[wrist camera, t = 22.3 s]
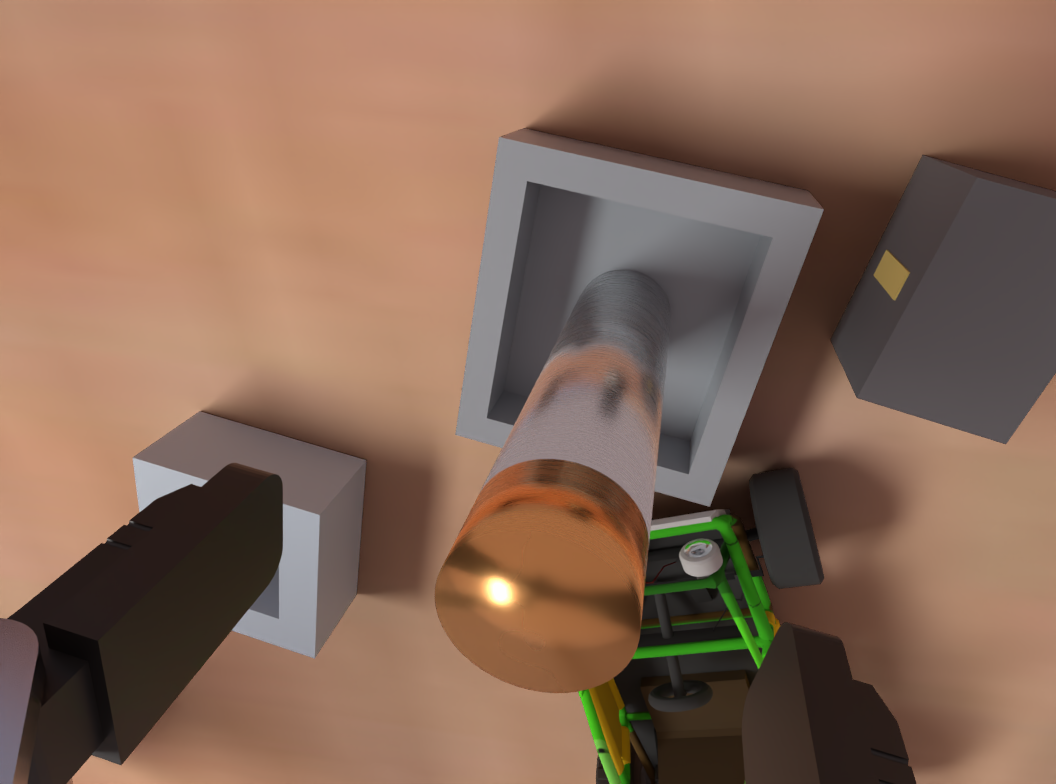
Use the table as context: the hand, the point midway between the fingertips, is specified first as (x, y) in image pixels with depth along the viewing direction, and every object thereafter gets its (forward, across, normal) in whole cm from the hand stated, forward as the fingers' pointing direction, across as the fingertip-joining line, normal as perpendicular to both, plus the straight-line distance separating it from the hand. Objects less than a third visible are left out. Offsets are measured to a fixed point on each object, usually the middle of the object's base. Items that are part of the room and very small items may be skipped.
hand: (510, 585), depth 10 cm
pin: (+14, -1, 0) cm, 14 cm away
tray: (+14, 0, 0) cm, 15 cm away
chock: (+14, -10, -3) cm, 18 cm away
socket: (+15, +13, +14) cm, 24 cm away
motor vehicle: (+15, -7, +14) cm, 22 cm away
